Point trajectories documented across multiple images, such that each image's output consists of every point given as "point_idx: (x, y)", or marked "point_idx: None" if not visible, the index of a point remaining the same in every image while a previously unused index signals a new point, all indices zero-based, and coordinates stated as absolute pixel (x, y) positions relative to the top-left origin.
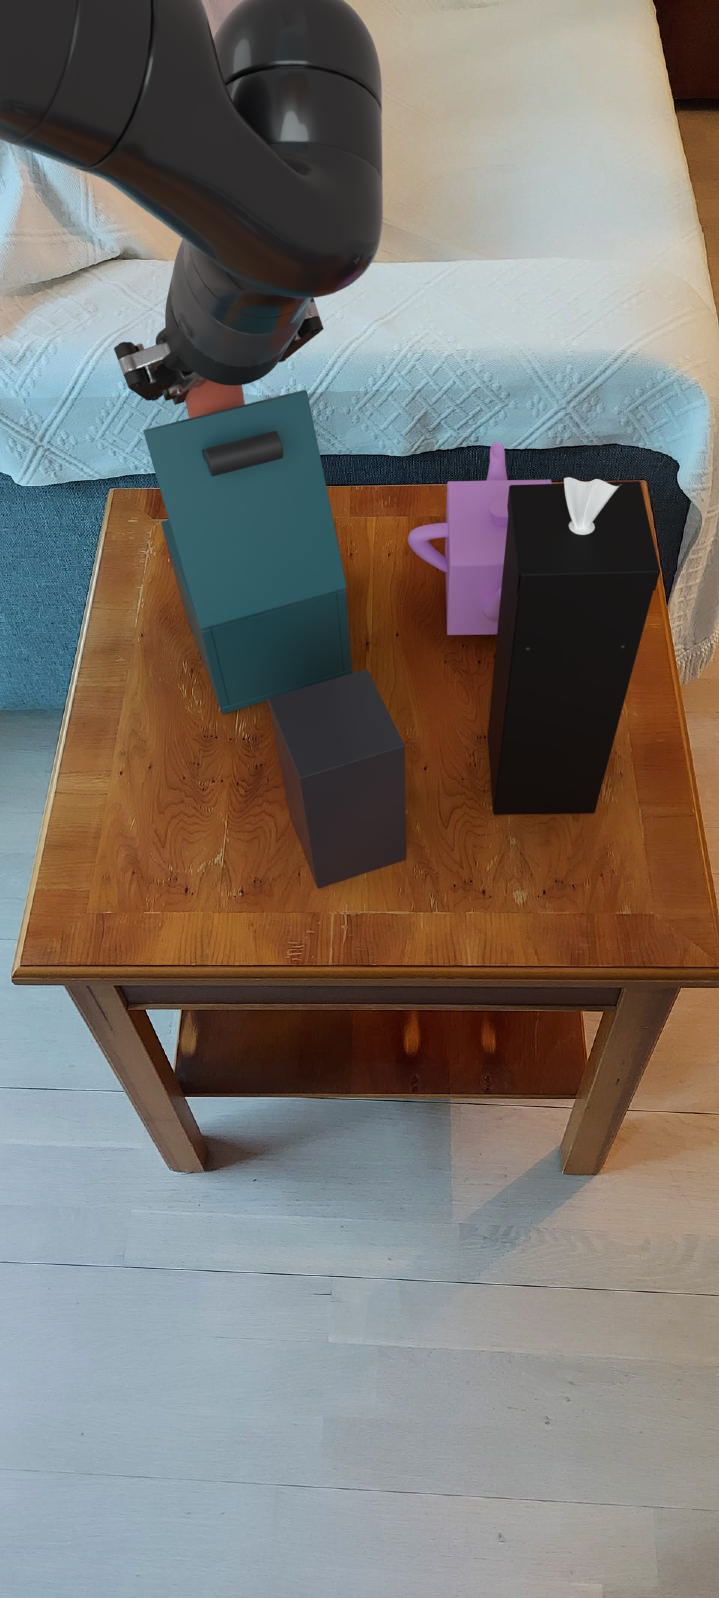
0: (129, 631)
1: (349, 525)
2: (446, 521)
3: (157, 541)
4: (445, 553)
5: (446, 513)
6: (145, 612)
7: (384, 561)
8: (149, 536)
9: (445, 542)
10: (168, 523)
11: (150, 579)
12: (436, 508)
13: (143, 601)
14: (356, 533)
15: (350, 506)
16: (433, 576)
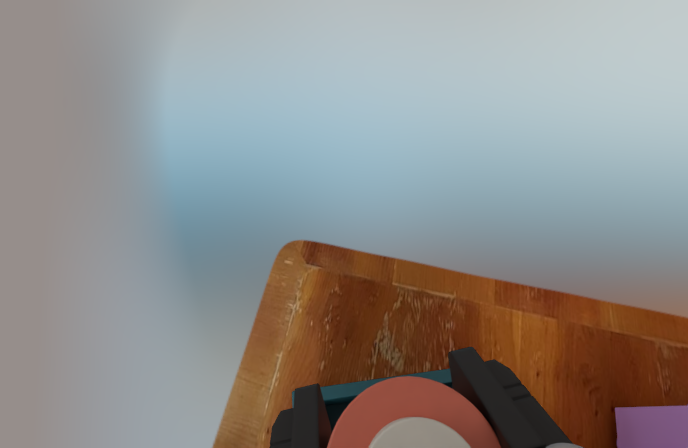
0: (256, 420)
1: (493, 317)
2: (654, 420)
3: (305, 294)
4: (621, 421)
5: (657, 411)
6: (277, 394)
7: (532, 383)
8: (299, 285)
9: (625, 409)
10: None
11: (290, 346)
12: (588, 314)
13: (278, 377)
14: (501, 331)
15: (495, 290)
16: (591, 425)
